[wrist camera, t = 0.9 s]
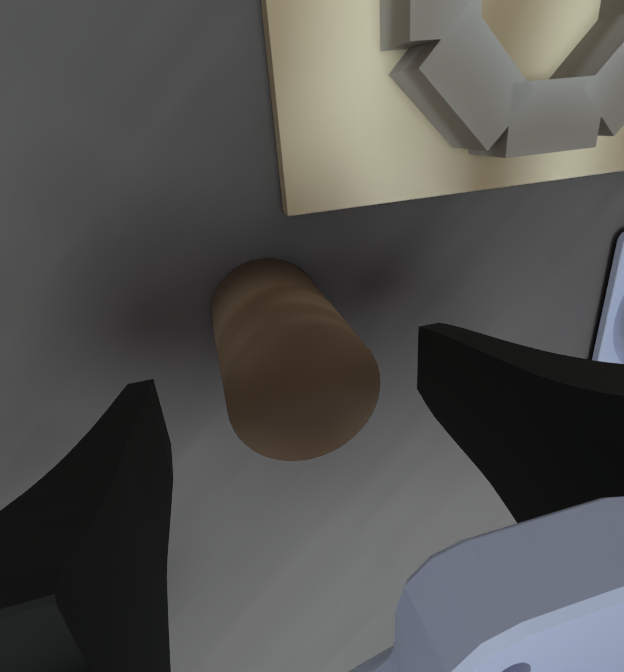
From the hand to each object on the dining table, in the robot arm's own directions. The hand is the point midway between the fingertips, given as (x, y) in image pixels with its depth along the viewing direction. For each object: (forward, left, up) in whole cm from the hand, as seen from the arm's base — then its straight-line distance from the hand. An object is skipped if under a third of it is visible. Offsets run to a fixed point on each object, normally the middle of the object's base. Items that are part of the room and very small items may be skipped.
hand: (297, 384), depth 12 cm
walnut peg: (0, 0, -5) cm, 5 cm away
